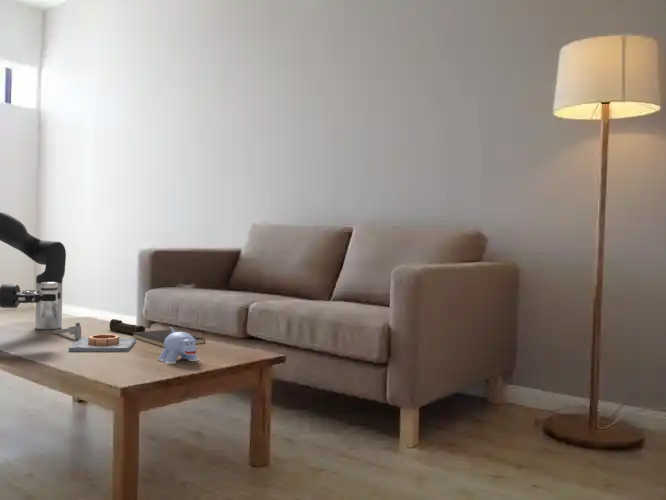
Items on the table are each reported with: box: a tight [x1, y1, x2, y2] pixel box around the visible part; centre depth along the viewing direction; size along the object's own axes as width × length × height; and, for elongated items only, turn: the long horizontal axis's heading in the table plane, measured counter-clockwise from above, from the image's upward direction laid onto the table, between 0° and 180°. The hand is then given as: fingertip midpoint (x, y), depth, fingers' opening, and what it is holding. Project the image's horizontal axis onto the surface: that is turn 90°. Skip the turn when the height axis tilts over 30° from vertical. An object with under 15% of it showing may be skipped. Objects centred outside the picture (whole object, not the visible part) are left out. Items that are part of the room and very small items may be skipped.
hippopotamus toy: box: [157, 326, 200, 365], centre depth 194 cm, size 11×15×10 cm
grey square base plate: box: [68, 333, 137, 353], centre depth 214 cm, size 18×18×3 cm
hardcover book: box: [131, 328, 206, 348], centre depth 229 cm, size 16×23×2 cm
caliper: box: [52, 322, 82, 341], centre depth 230 cm, size 20×1×6 cm, turn 47°
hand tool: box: [108, 318, 146, 335], centre depth 242 cm, size 19×4×5 cm, turn 51°
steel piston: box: [41, 282, 58, 318], centre depth 209 cm, size 5×5×11 cm
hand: (57, 296), depth 209 cm, fingers closed on steel piston, 5 cm apart
